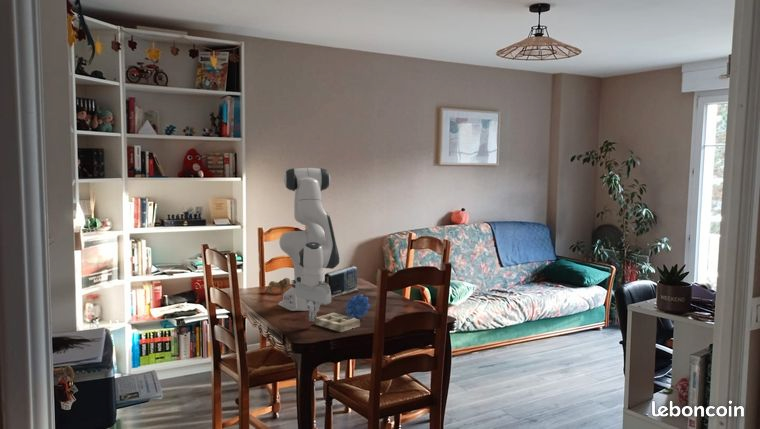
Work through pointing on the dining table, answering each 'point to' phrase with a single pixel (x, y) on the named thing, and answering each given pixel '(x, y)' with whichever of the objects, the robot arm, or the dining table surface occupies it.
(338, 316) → the socket block
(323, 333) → the dining table surface
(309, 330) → the dining table surface
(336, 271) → the radio
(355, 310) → the grapes
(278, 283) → the lion figurine
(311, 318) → the plug
